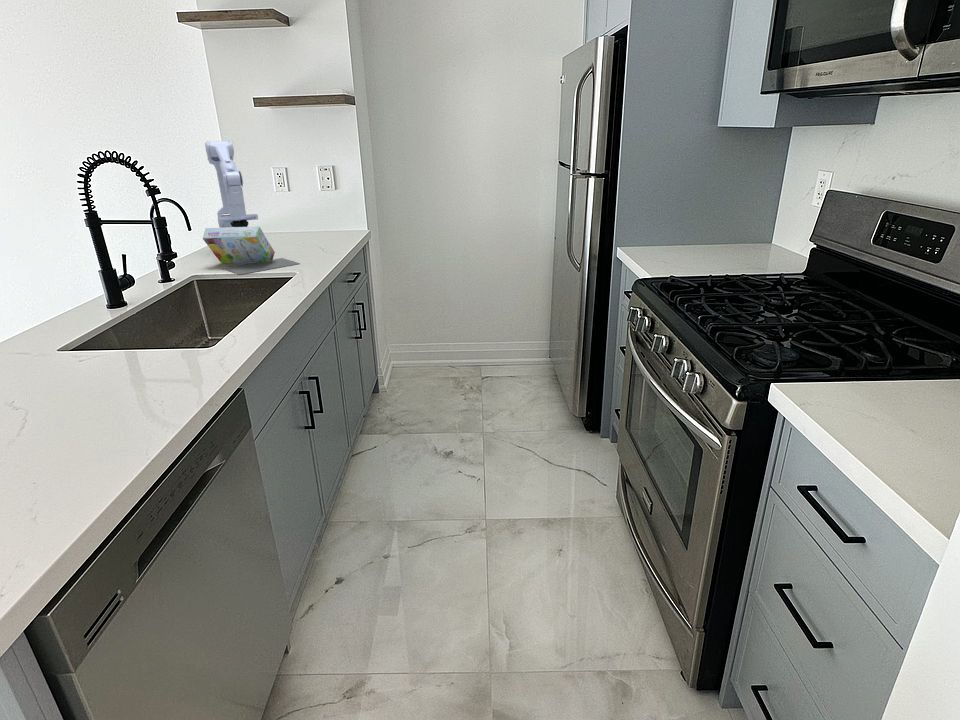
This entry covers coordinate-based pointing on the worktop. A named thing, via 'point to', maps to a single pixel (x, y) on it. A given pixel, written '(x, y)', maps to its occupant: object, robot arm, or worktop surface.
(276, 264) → the mat
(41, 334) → the worktop surface
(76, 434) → the worktop surface
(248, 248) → the snack box
